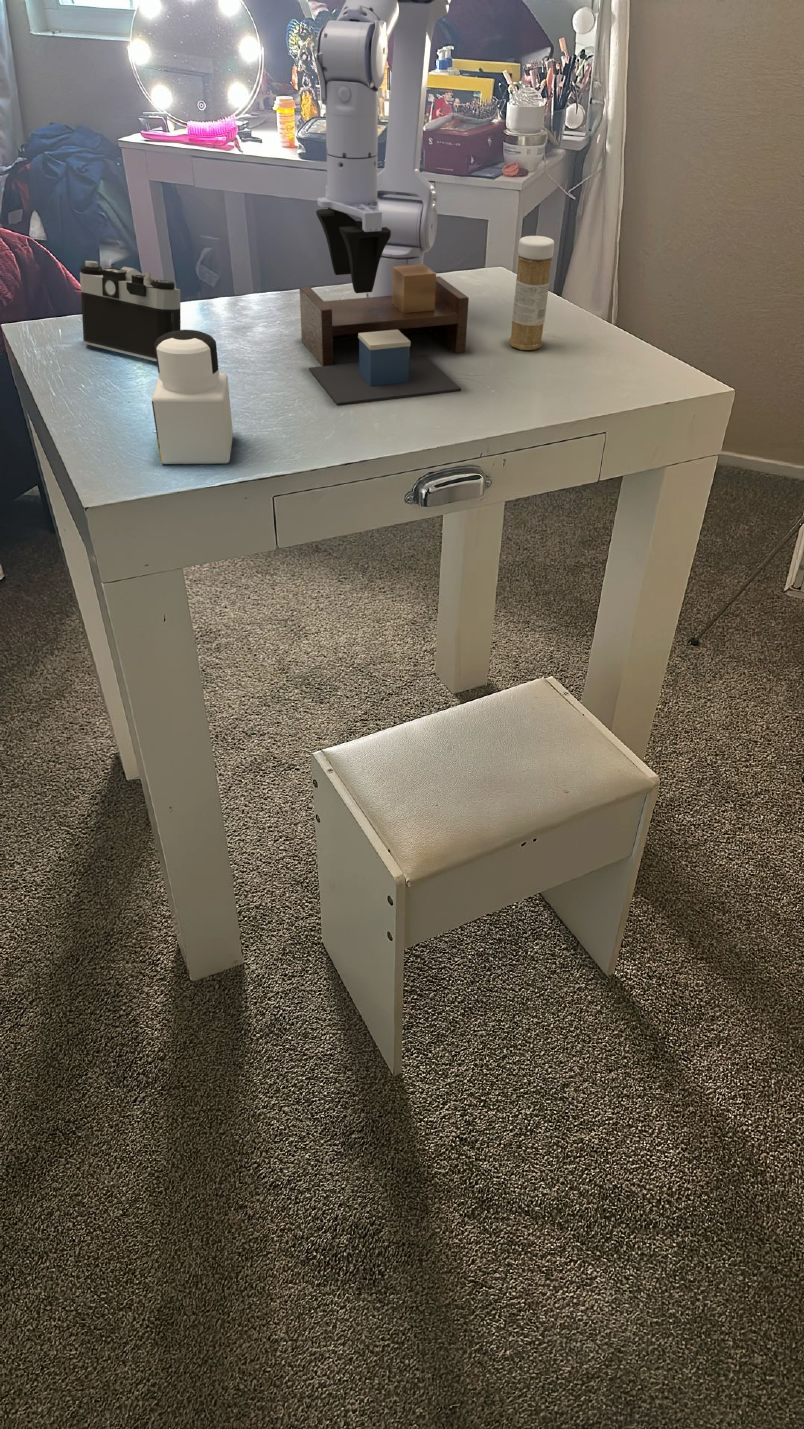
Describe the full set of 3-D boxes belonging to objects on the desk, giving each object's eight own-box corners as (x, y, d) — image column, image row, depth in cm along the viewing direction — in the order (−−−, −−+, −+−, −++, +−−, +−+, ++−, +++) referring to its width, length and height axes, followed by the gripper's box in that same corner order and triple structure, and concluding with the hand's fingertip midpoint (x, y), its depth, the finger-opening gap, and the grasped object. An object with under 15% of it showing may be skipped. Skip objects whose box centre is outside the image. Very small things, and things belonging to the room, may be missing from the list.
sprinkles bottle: (525, 338, 130) (537, 232, 122) (548, 347, 128) (562, 240, 119) (501, 344, 128) (512, 237, 120) (525, 353, 126) (537, 245, 117)
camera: (213, 356, 125) (214, 275, 120) (160, 364, 117) (158, 277, 112) (128, 336, 130) (126, 257, 125) (71, 343, 122) (66, 258, 117)
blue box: (358, 373, 118) (358, 332, 114) (396, 369, 119) (397, 329, 116) (370, 386, 114) (370, 345, 111) (409, 382, 116) (410, 341, 113)
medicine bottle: (167, 436, 102) (152, 323, 95) (233, 436, 103) (223, 324, 95) (160, 465, 97) (143, 348, 89) (229, 464, 98) (218, 348, 90)
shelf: (301, 341, 127) (299, 287, 122) (437, 328, 133) (439, 276, 128) (322, 367, 120) (321, 310, 115) (465, 352, 125) (469, 297, 121)
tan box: (391, 303, 125) (392, 266, 122) (422, 300, 126) (423, 264, 123) (403, 313, 122) (404, 275, 119) (434, 310, 123) (436, 273, 120)
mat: (308, 369, 119) (308, 367, 119) (425, 357, 123) (425, 355, 123) (337, 405, 110) (337, 402, 110) (460, 390, 115) (461, 388, 115)
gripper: (299, 143, 108) (304, 268, 117) (338, 168, 98) (340, 303, 107) (356, 141, 110) (357, 264, 119) (400, 165, 100) (397, 298, 109)
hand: (352, 282), depth 113 cm, fingers open, 7 cm apart
